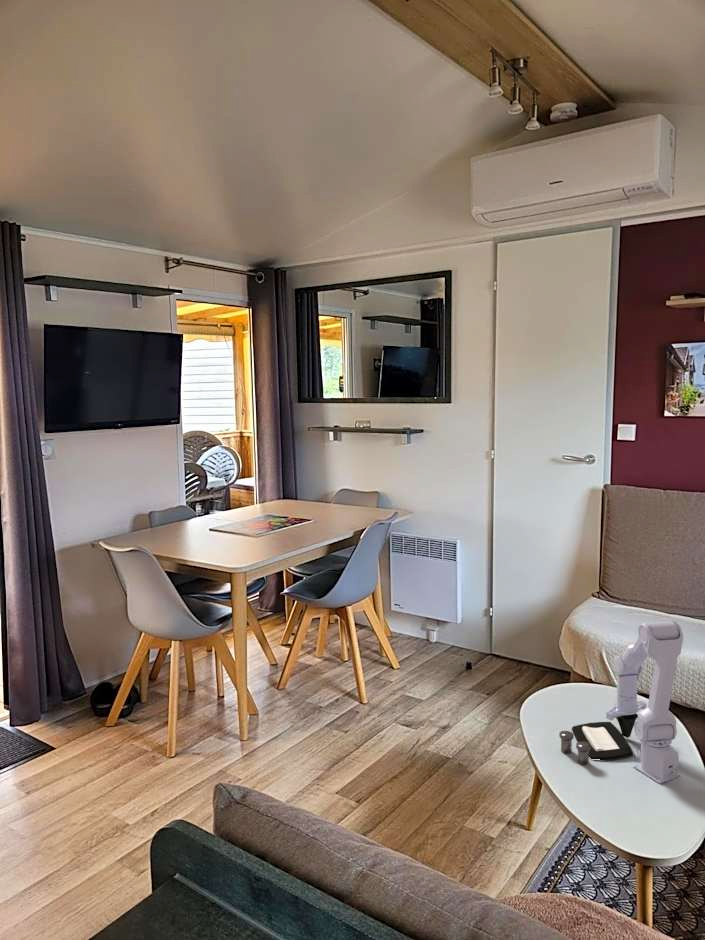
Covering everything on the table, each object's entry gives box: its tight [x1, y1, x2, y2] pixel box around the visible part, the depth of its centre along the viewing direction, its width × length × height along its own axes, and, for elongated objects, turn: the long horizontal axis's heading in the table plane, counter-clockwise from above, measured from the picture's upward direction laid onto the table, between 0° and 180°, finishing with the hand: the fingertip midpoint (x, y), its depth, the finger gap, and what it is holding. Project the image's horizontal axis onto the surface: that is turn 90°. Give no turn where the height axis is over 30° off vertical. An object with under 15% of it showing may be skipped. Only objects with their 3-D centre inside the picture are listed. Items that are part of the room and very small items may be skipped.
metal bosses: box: [558, 730, 591, 766], centre depth 208 cm, size 11×4×5 cm, turn 26°
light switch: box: [571, 721, 634, 761], centre depth 215 cm, size 20×3×14 cm
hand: (626, 735), depth 217 cm, fingers closed
